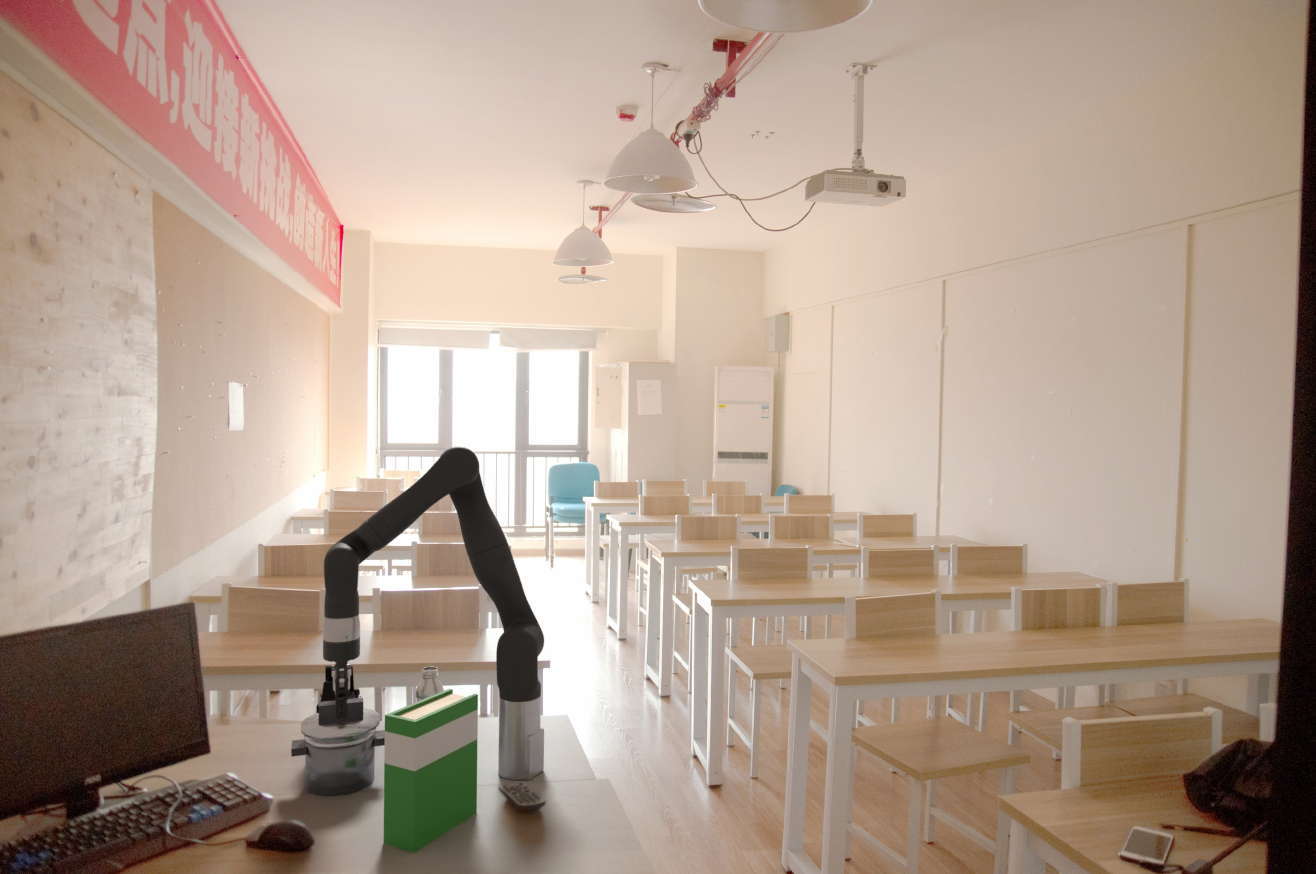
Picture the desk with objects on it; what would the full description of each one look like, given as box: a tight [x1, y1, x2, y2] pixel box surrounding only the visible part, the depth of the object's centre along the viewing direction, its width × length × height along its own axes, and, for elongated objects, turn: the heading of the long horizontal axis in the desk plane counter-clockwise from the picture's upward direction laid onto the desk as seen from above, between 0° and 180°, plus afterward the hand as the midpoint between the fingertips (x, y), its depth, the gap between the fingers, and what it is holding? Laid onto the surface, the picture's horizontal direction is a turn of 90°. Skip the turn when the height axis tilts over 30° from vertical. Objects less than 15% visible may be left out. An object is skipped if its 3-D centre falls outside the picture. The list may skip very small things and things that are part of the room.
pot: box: [290, 727, 385, 797], centre depth 182 cm, size 19×15×11 cm
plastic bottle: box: [414, 666, 445, 702], centre depth 198 cm, size 6×7×20 cm
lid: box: [300, 697, 381, 740], centre depth 181 cm, size 16×16×5 cm
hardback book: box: [383, 688, 479, 854], centre depth 162 cm, size 18×7×24 cm, turn 153°
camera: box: [315, 665, 362, 714], centre depth 200 cm, size 10×14×20 cm
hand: (341, 715), depth 182 cm, fingers closed on lid, 2 cm apart
